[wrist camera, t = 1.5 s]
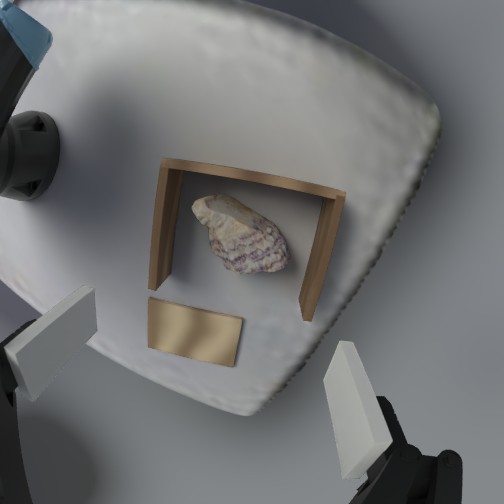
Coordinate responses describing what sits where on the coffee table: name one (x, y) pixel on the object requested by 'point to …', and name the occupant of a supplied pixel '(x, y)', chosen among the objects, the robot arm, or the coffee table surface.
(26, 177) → the robot arm
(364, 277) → the coffee table surface
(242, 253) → the mineral specimen
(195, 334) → the mat
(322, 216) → the brown open u-shaped frame
